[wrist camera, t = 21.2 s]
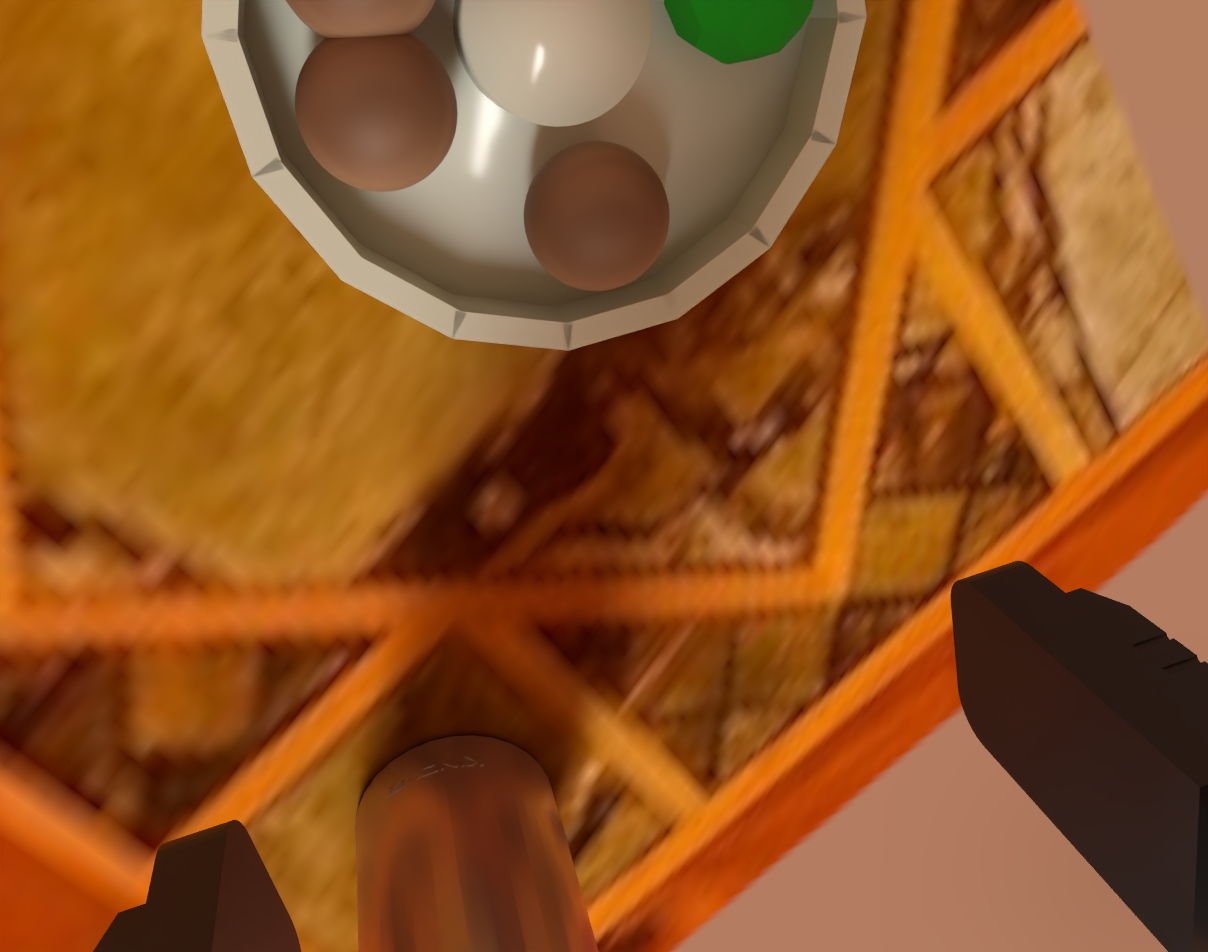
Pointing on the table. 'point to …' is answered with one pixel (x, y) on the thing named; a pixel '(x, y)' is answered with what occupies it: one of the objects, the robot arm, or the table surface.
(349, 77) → the joined brown beads
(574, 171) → the walnut bead
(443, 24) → the tray
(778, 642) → the table surface
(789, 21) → the polyhedron
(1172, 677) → the robot arm
